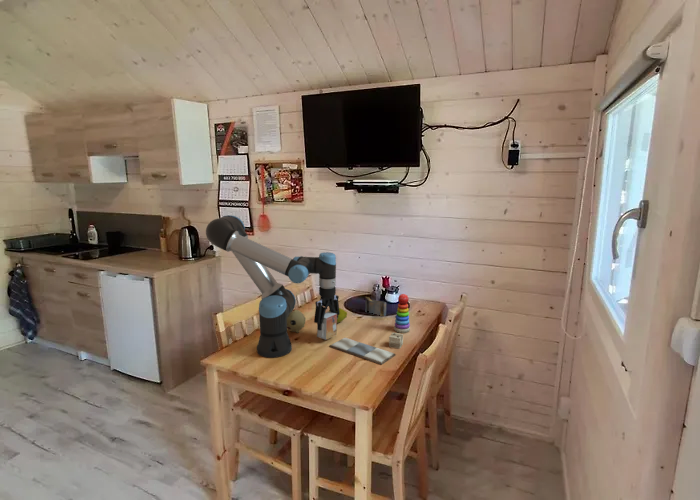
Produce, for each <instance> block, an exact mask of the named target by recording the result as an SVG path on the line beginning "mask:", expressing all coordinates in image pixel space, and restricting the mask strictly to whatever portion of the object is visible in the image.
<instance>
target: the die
mask: <svg viewBox="0 0 700 500" xmlns="http://www.w3.org/2000/svg"><path fill="white" fill-rule="evenodd" d="M403 345H404V333H399V332H392V333H391V334H390V335H389V337H388V348H392V349H399V350H400V349H401V347H402V346H403Z"/></svg>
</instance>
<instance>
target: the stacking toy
mask: <svg viewBox="0 0 700 500" xmlns="http://www.w3.org/2000/svg"><path fill="white" fill-rule="evenodd" d="M397 299H398V300H397V301H398V304H397V309H396V310H397V311H396V315H395V318H394V319H395V320H394V327H393V330H394V331H395V332H396V333H398V334H404V333H405V334H406V333H408V332H410V331H411V327H410V326H411V323H410V316H409V315H410V313H409V304H408V302H409V296H408V295H407V294H405V293H401V294H399V296H398V297H397Z"/></svg>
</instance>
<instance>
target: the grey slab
mask: <svg viewBox="0 0 700 500" xmlns="http://www.w3.org/2000/svg"><path fill="white" fill-rule="evenodd" d="M367 311H369V312H367ZM365 312H366V313H368V314H369V313H373V314H372V315H374V314H377V315H376V316H379V315H380V316H379V317H386V316H387V302H386V301H381V300H375V299H371V298H370V297H367V296H365ZM365 312H364V313H365Z"/></svg>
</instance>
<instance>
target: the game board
mask: <svg viewBox="0 0 700 500" xmlns="http://www.w3.org/2000/svg"><path fill="white" fill-rule="evenodd" d="M329 348H331V349H335V350H338V351H340V352H343V353H346V354H349V355H352V356H355V357H357V358H361V359H362V360H363V359H364V360H367V361H369V362H372V363H375V364H378V365H381V366H382V365H384V364H386V363H387V362H388V361H389V360H391V359H392V358H394V357H395V356H396V355H397V354H396V353H394V352H391V351H388V350H386V349H381V348H379V347H375V346H372V345H369V344H367V343H364V342H360V341H356V340H354V339H351V338H348V337H343V338H341V339H339V340H338V341H335V342H334V343H331V344H330V345H329Z"/></svg>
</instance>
